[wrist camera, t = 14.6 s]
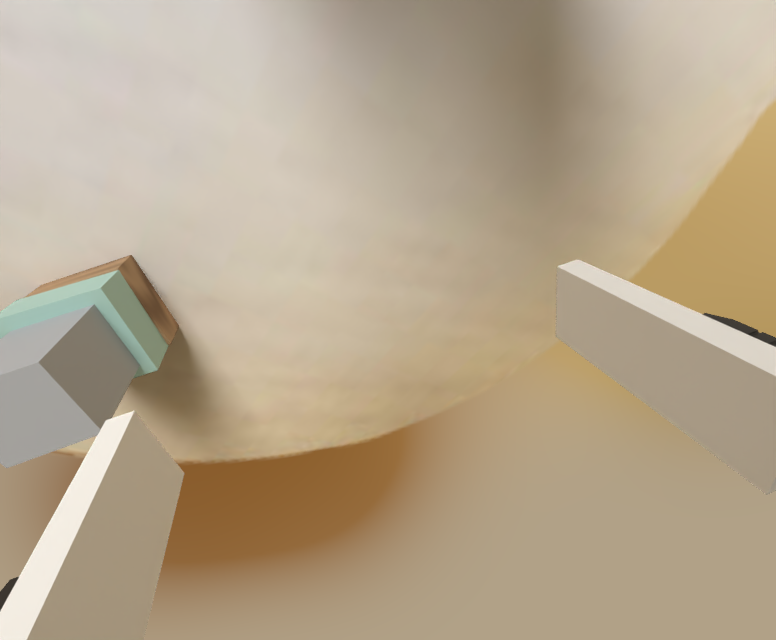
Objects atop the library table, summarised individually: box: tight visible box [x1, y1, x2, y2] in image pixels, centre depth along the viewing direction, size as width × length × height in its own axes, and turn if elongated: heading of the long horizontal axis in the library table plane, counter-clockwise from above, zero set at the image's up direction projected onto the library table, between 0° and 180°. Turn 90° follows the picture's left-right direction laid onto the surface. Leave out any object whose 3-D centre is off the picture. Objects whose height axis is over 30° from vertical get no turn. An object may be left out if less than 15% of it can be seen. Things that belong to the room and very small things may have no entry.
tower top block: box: [0, 270, 168, 378], centre depth 31 cm, size 8×8×4 cm
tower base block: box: [24, 255, 179, 345], centre depth 34 cm, size 8×8×4 cm
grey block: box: [0, 304, 140, 468], centre depth 26 cm, size 6×6×8 cm
